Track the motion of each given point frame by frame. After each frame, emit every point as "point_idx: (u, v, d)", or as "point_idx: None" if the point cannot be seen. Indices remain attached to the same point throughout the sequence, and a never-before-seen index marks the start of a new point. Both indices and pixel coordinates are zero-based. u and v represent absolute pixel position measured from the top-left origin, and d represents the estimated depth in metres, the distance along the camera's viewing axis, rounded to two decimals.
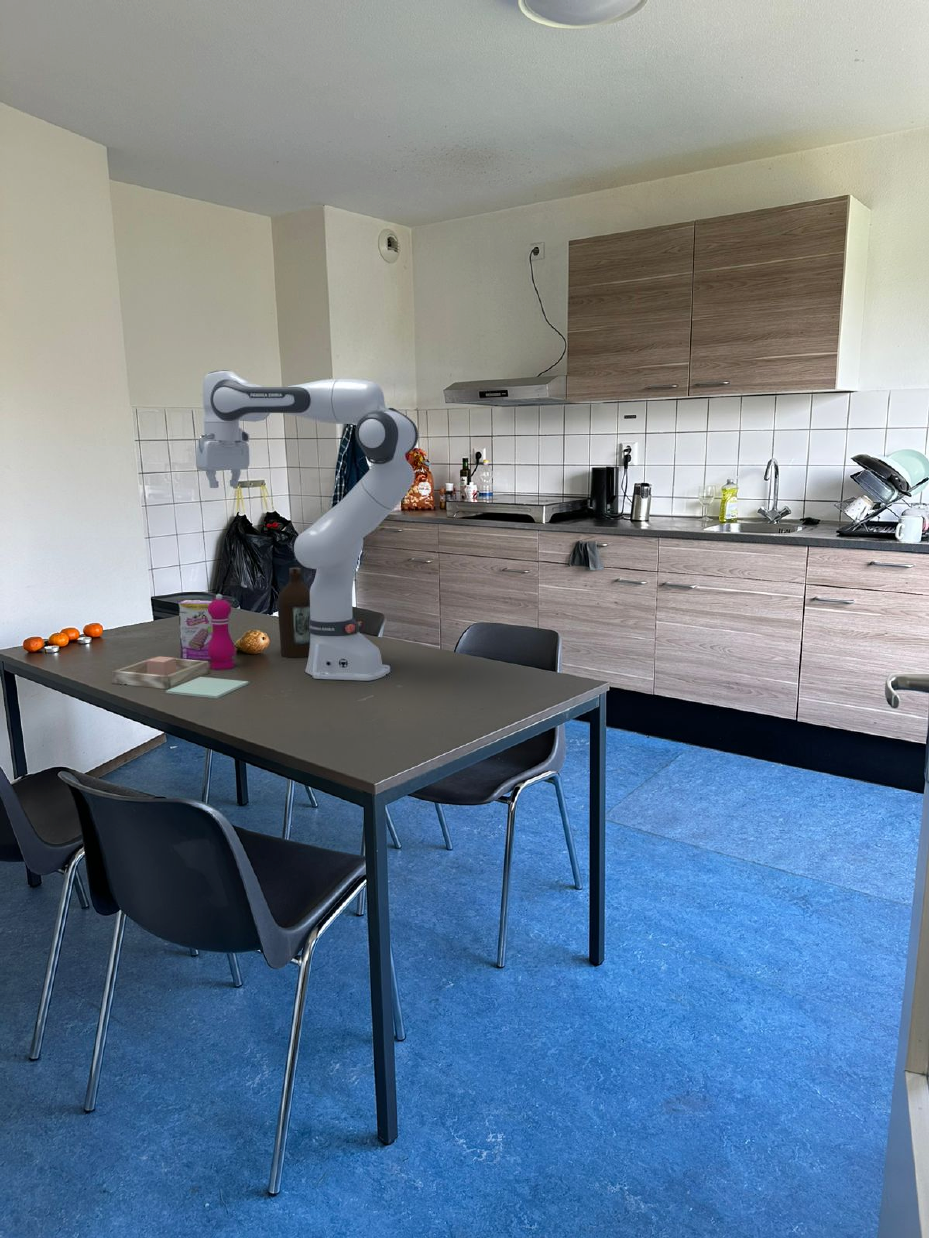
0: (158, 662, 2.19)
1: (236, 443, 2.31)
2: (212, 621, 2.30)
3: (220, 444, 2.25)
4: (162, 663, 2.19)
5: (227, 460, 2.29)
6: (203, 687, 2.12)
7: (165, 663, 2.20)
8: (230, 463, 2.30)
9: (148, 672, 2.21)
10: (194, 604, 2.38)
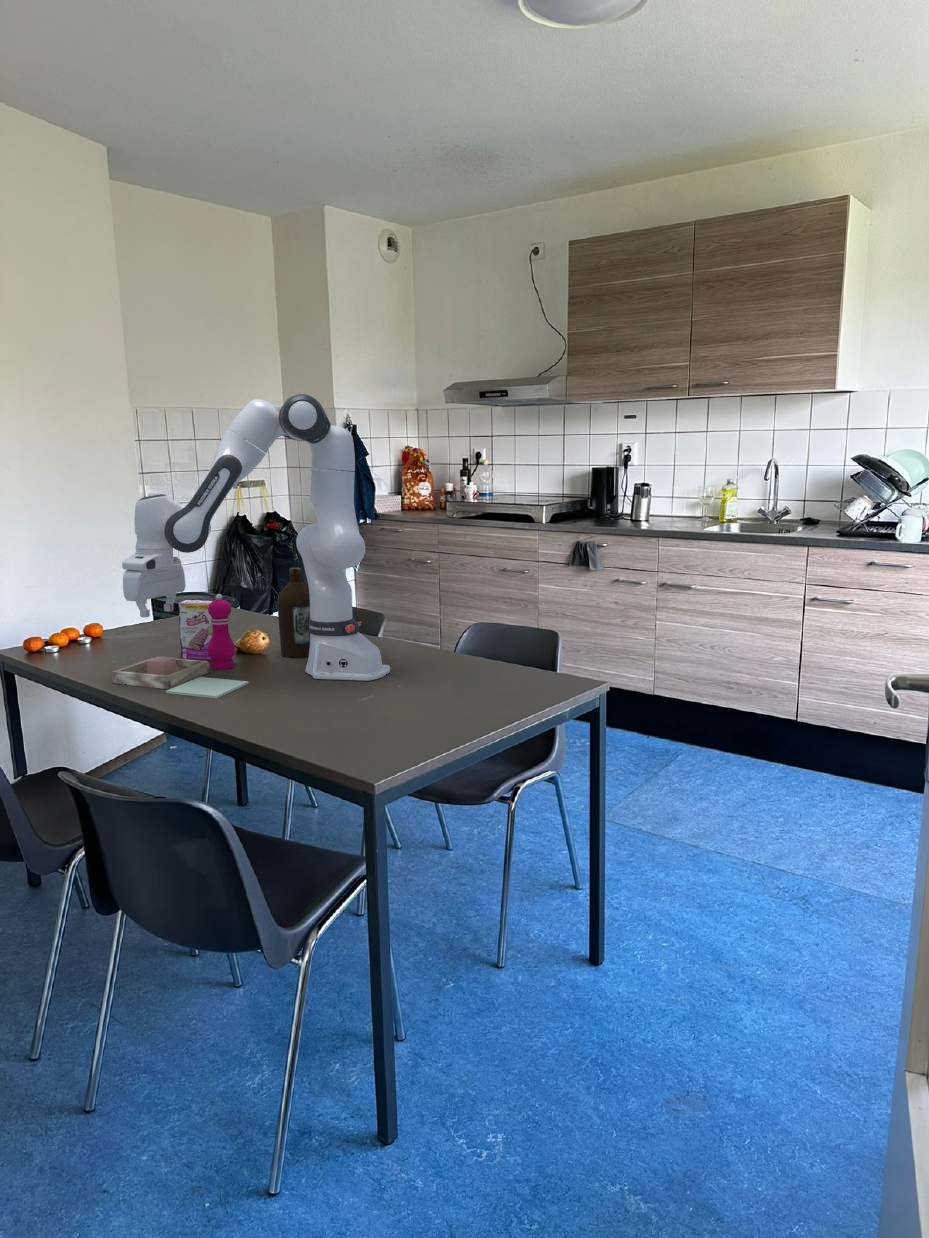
0: (158, 662, 2.19)
1: None
2: (212, 621, 2.30)
3: None
4: (162, 663, 2.19)
5: None
6: (203, 687, 2.12)
7: (165, 663, 2.20)
8: None
9: (148, 672, 2.21)
10: (194, 604, 2.38)
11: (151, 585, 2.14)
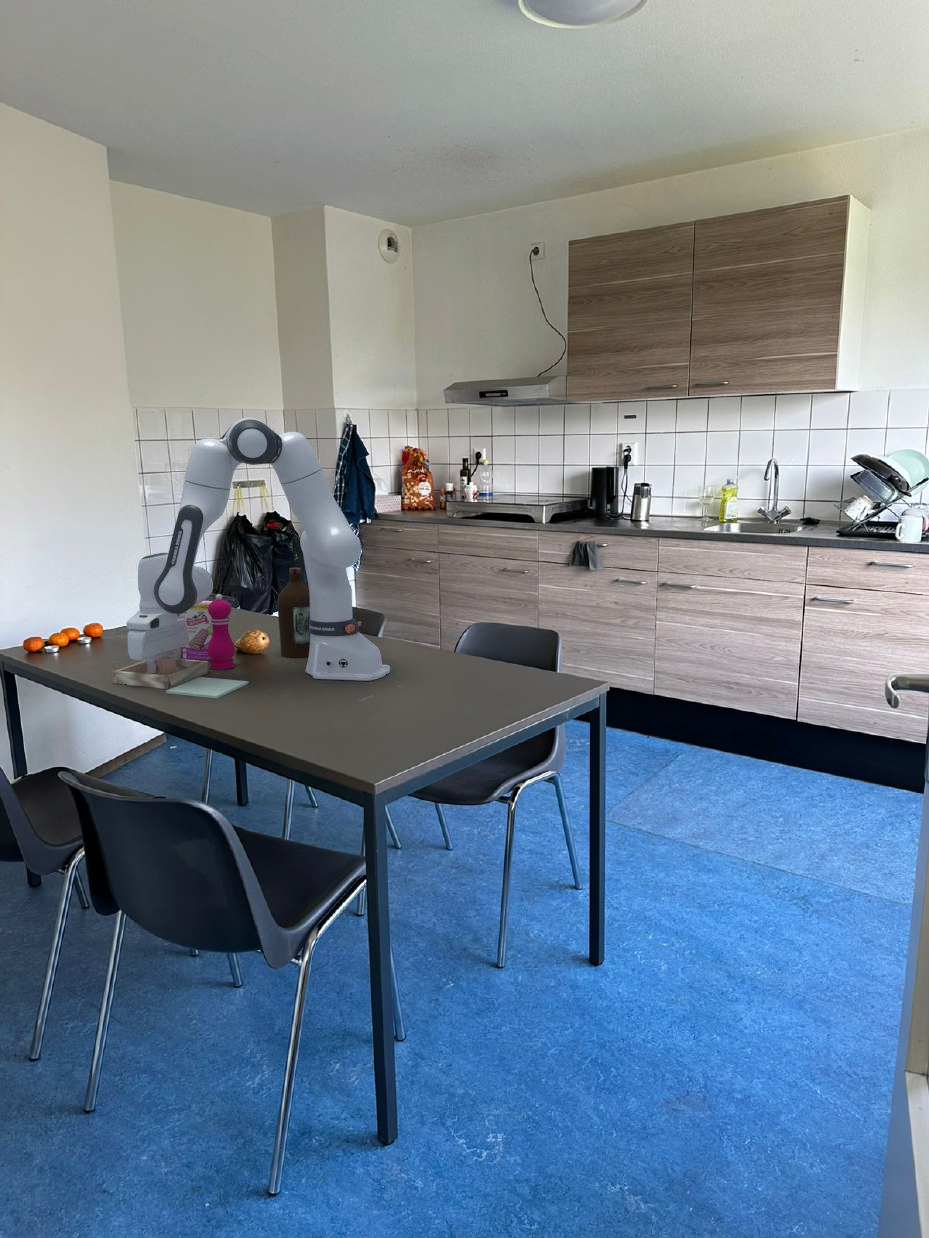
0: (158, 662, 2.19)
1: None
2: (212, 621, 2.30)
3: None
4: (162, 663, 2.19)
5: None
6: (203, 687, 2.12)
7: (165, 663, 2.20)
8: None
9: (148, 672, 2.21)
10: None
11: (155, 643, 2.16)
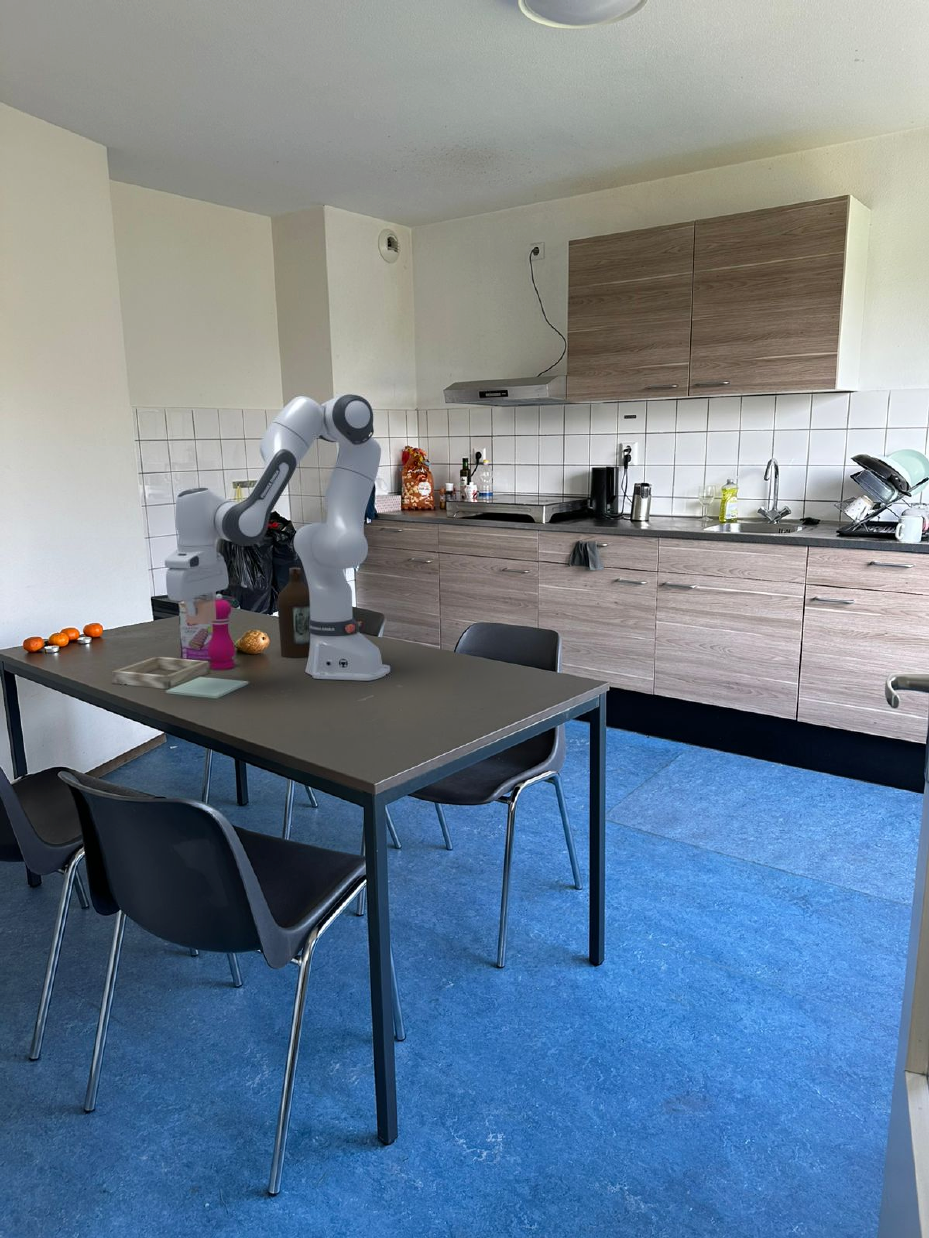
0: (197, 604, 2.08)
1: None
2: (212, 621, 2.30)
3: None
4: (202, 605, 2.07)
5: None
6: (203, 687, 2.12)
7: (205, 605, 2.08)
8: None
9: (187, 615, 2.09)
10: None
11: (194, 583, 2.05)
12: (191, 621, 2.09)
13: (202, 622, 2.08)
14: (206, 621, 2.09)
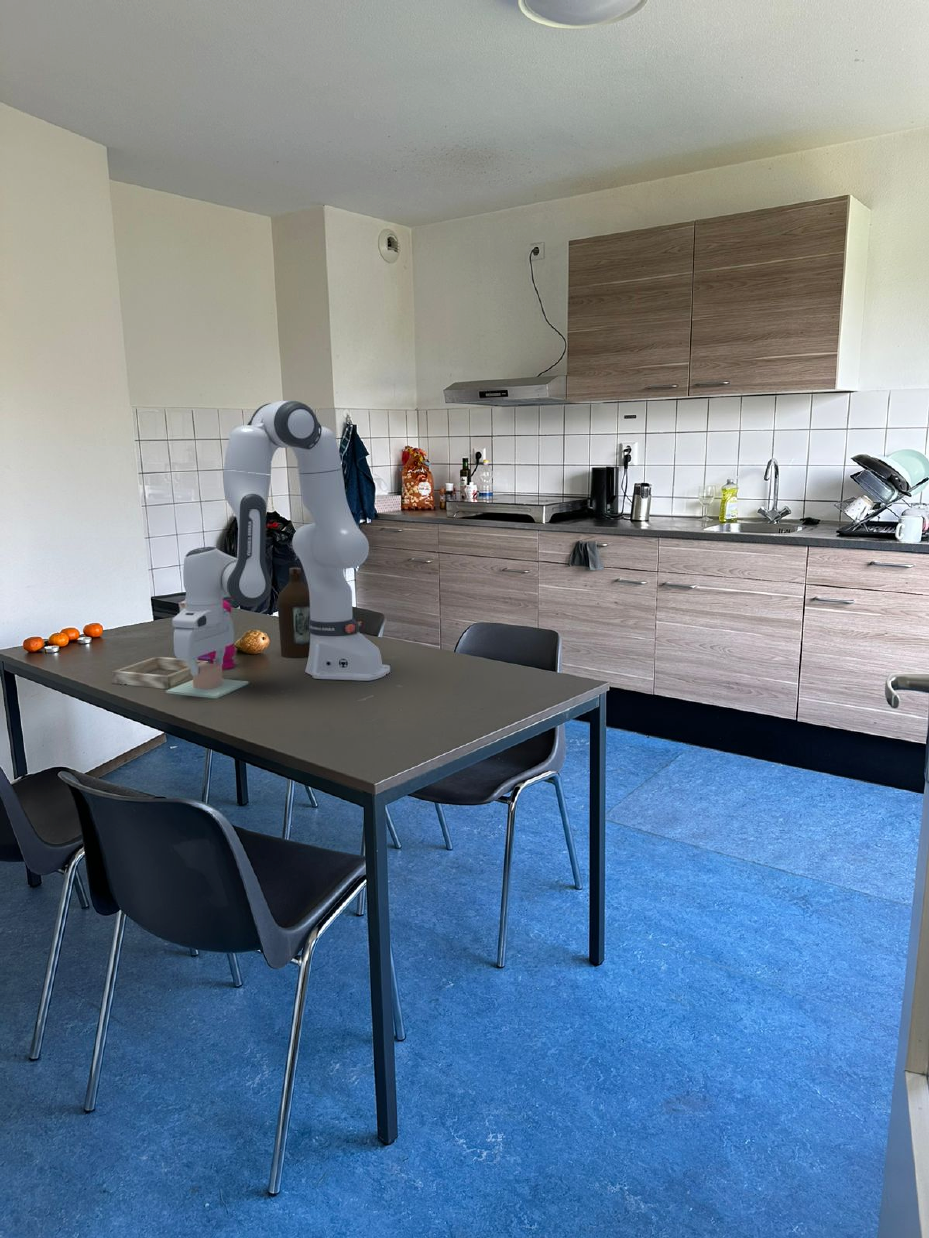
0: (204, 669, 2.09)
1: None
2: None
3: None
4: (209, 670, 2.09)
5: None
6: None
7: (212, 670, 2.10)
8: None
9: (194, 680, 2.11)
10: None
11: (201, 642, 2.06)
12: (198, 686, 2.11)
13: (209, 687, 2.10)
14: (213, 686, 2.11)
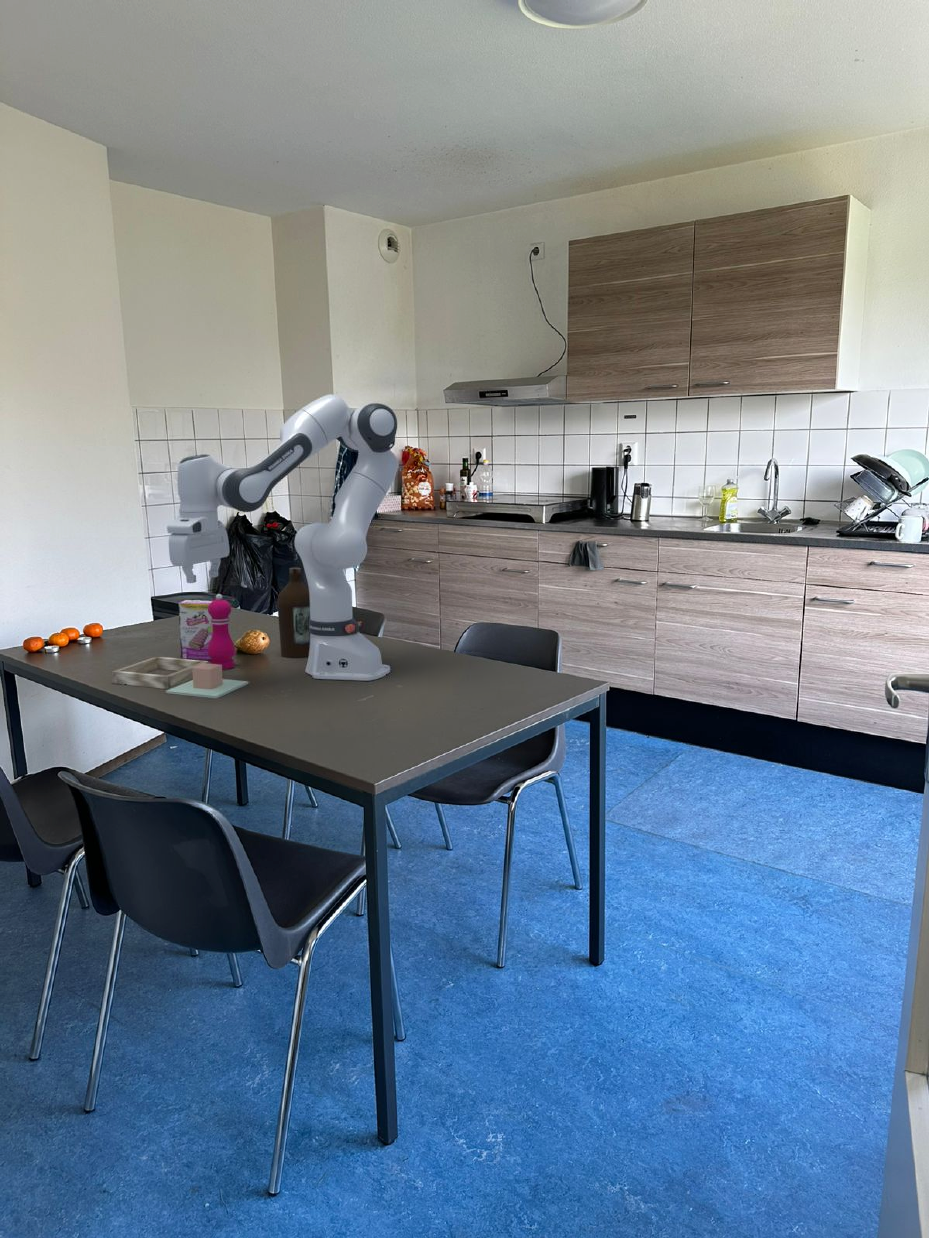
0: (204, 669, 2.09)
1: None
2: (212, 621, 2.30)
3: None
4: (209, 670, 2.09)
5: None
6: None
7: (212, 670, 2.10)
8: None
9: (194, 680, 2.11)
10: (194, 604, 2.38)
11: (197, 549, 2.06)
12: (198, 686, 2.11)
13: (209, 687, 2.10)
14: (213, 686, 2.11)
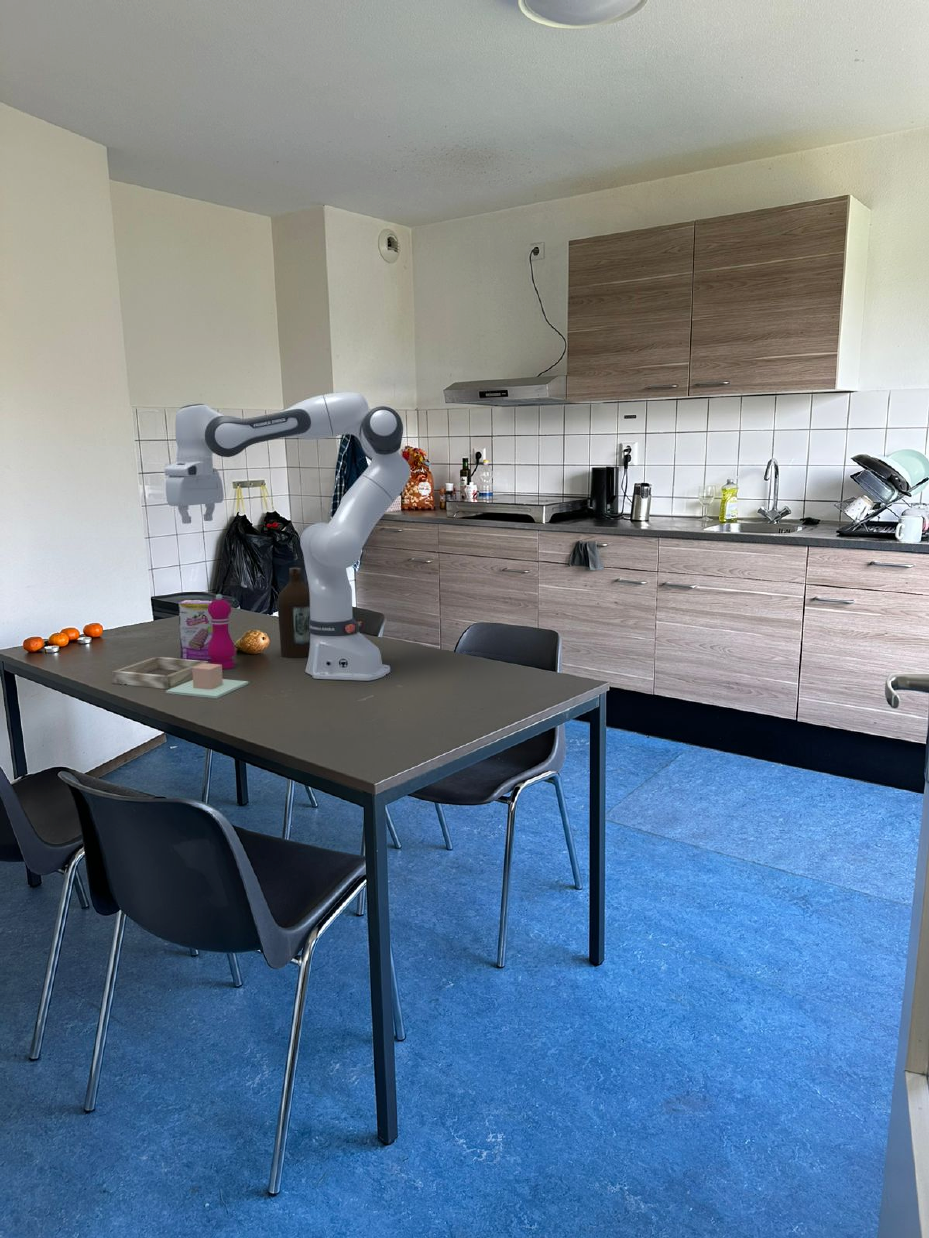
0: (204, 669, 2.09)
1: None
2: (212, 621, 2.30)
3: None
4: (209, 670, 2.09)
5: None
6: None
7: (212, 670, 2.10)
8: None
9: (194, 680, 2.11)
10: (194, 604, 2.38)
11: (192, 492, 2.20)
12: (198, 686, 2.11)
13: (209, 687, 2.10)
14: (213, 686, 2.11)
